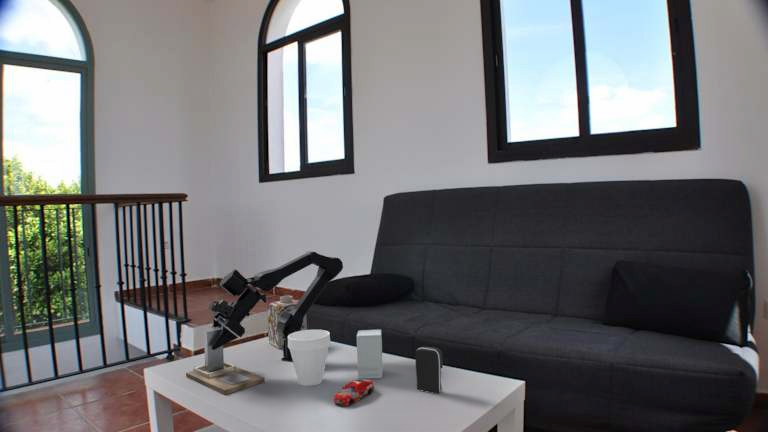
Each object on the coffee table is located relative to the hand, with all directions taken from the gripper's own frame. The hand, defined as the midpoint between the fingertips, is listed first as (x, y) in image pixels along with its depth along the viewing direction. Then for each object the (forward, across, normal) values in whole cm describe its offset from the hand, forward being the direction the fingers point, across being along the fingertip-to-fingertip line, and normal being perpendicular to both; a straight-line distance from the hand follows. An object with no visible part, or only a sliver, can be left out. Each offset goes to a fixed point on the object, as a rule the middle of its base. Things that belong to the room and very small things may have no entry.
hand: (209, 345), depth 142 cm
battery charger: (-26, +51, +39) cm, 69 cm away
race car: (-12, +43, +26) cm, 52 cm away
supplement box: (-21, +30, +35) cm, 51 cm away
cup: (-9, +24, +23) cm, 35 cm away
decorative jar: (-16, -20, +30) cm, 39 cm away
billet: (+5, 0, +7) cm, 8 cm away
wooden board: (+4, +6, +9) cm, 11 cm away
